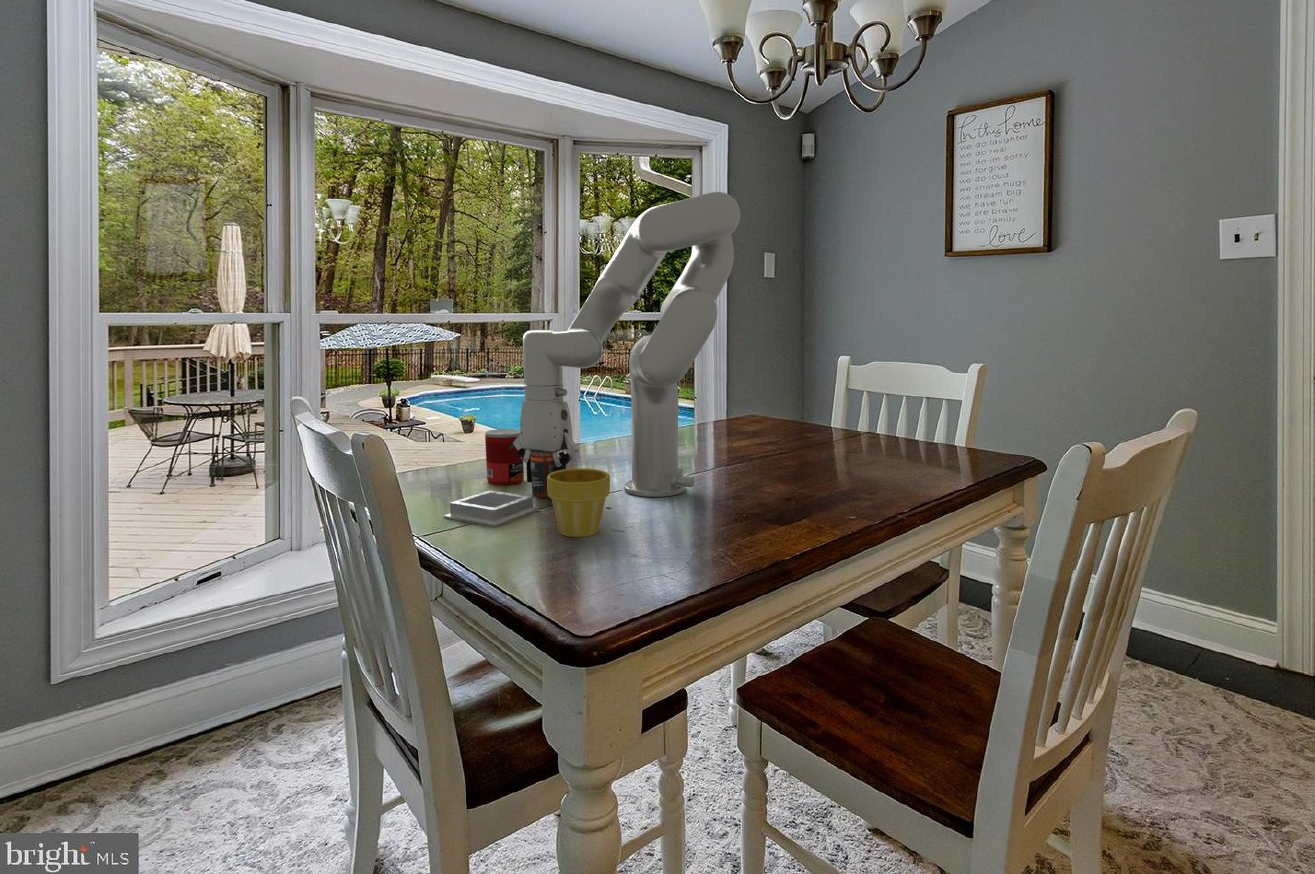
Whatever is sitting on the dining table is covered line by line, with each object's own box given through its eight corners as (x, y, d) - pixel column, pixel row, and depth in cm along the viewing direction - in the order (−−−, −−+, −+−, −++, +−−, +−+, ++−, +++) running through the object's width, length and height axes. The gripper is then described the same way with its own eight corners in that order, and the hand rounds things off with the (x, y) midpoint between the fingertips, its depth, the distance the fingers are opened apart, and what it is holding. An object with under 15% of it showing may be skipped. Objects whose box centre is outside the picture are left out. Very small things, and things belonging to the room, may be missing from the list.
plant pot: (611, 540, 119) (610, 481, 117) (546, 541, 118) (544, 482, 116) (610, 522, 129) (609, 467, 127) (550, 523, 128) (549, 468, 126)
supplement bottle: (566, 492, 149) (565, 437, 147) (553, 499, 144) (551, 442, 142) (540, 490, 151) (539, 436, 149) (526, 497, 146) (524, 441, 144)
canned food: (516, 486, 154) (514, 435, 153) (480, 485, 156) (478, 433, 154) (529, 478, 162) (528, 429, 160) (495, 477, 163) (493, 428, 162)
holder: (539, 510, 136) (538, 496, 136) (495, 527, 126) (494, 511, 125) (489, 502, 142) (489, 488, 141) (444, 517, 131) (443, 503, 131)
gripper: (591, 394, 143) (592, 484, 146) (521, 389, 151) (524, 475, 154) (568, 398, 137) (570, 492, 140) (497, 393, 145) (500, 482, 148)
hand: (546, 482), depth 147 cm, fingers closed on supplement bottle, 6 cm apart
